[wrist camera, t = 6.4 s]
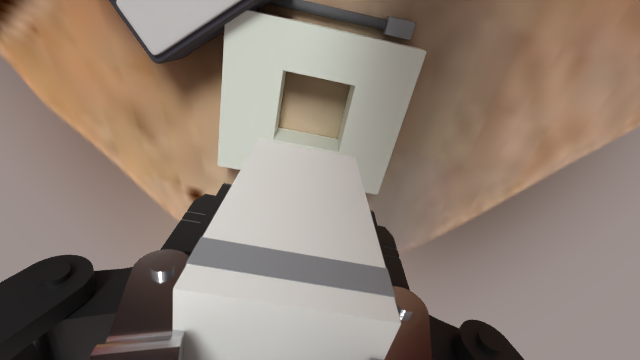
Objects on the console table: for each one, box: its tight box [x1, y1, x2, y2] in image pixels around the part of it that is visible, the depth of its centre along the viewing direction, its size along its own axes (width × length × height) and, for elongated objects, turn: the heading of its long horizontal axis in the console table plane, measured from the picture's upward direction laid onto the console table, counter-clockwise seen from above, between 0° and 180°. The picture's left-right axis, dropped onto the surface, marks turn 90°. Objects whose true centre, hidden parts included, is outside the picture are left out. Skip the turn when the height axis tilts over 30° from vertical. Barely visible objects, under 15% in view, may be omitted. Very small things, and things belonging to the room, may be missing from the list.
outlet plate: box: [218, 10, 427, 195], centre depth 25 cm, size 12×14×3 cm
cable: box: [269, 0, 416, 40], centre depth 23 cm, size 1×12×1 cm, turn 79°
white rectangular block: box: [173, 138, 401, 360], centre depth 10 cm, size 4×4×8 cm
